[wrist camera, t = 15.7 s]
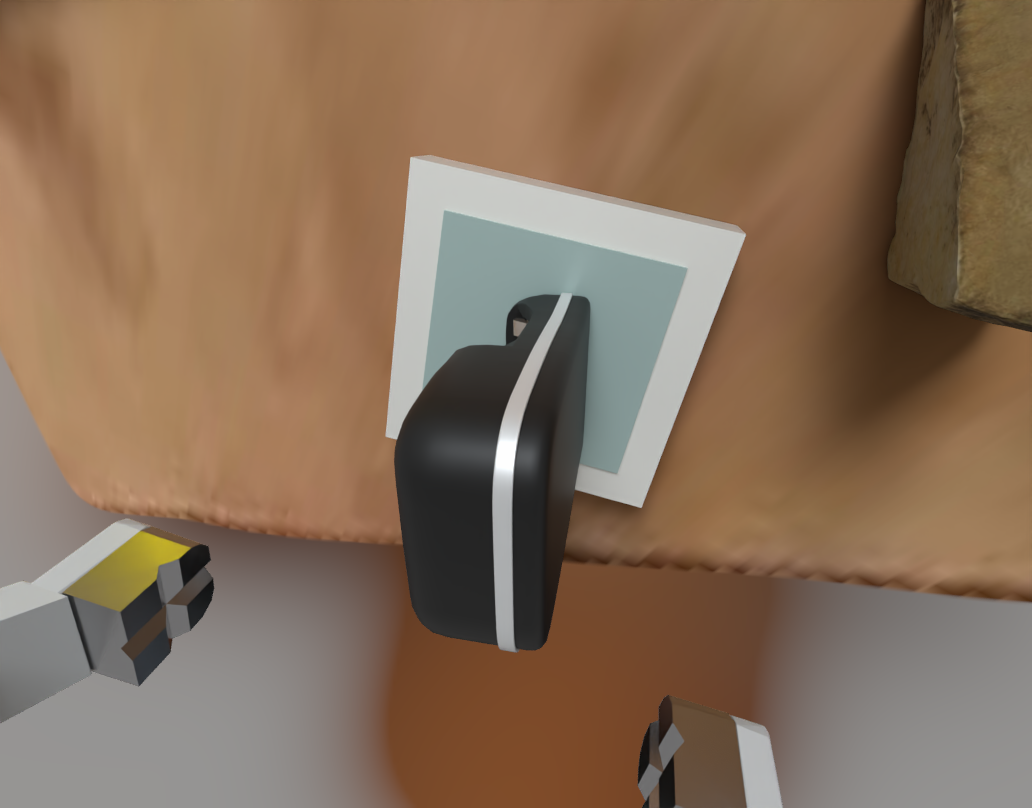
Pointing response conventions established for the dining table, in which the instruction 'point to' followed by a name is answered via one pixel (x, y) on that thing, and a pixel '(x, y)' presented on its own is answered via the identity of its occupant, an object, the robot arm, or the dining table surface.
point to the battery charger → (496, 477)
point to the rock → (970, 165)
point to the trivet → (554, 270)
